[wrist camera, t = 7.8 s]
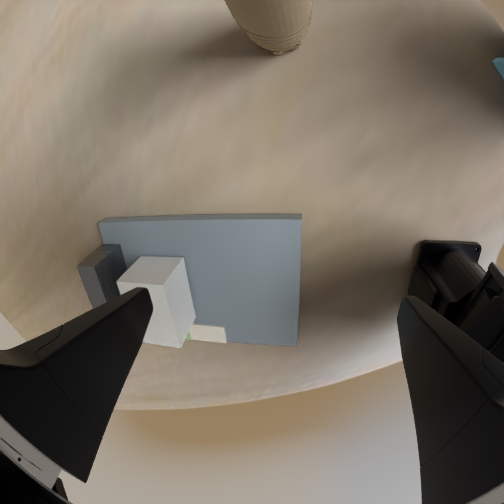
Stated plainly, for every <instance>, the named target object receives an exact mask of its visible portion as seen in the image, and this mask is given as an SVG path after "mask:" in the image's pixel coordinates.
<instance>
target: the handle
mask: <svg viewBox="0 0 504 504" xmlns="http://www.w3.org/2000/svg"><path fill="white" fill-rule="evenodd" d="M225 2H226V4H227V6H228V8H229V10H230V12H231V14H232V16H233V18H234V19H235V21H236V22H237V23H238V25H239V26H240V27H241V29H242V30H243V31H244V32H245V33H246V34H247V36H248V37H249V38H250V39H251V40H252V41H254V42H255V43H256V44H257V45H259V46H261V47H263V48H265V49H268V50H270V51H271V52H272V53H273V54H275V55H282V53H284V52H285V51H288V50H296V49H297V48H298V47H299V46H300V45H301V40H302V39H303V38H304V36H305V34H306V33H307V30H308V27H309V24H310V20H311V12H312V0H225Z"/></svg>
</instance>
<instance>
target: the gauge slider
mask: <svg viewBox="0 0 504 504" xmlns="http://www.w3.org/2000/svg"><path fill="white" fill-rule="evenodd" d="M116 282H117V285H118V288H119V291H120V294H121V295H122V294H124V293H126V292H128V291H130V290H132V289H134V288H136V287H145V288H147V289H148V290H149V293H150V297H151V300H152V303H153V313H152V316H151V319H150V322H149V325H148V327H147V330H146V333H145V336H144V339H143V342H145V343H151V344H157V345H163V346H169V347H175V348H181V347H182V345H183V343H184V341H185V339H186V337H187V335H188V332H189V330H190V328H191V326H192V324H193V322H194V320H195V318H196V315H195V310H194V306H193V301H192V297H191V292H190V287H189V282H188V277H187V272H186V267H185V262H184V257H154V256H141V257H140V258H139V259H138V260H137V261H136V262H135V263H134V264H133V265H132V266H131V267H130V268H129V269H128V270H127V271H126V272H125V273H124V274H123V275H122V276H121V277H120V278H119V279H118V280H117V281H116Z"/></svg>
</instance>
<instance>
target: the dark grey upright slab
mask: <svg viewBox="0 0 504 504" xmlns="http://www.w3.org/2000/svg"><path fill="white" fill-rule="evenodd" d="M77 267H78V270H79V273H80V276H81V279H82V281H83V284H84V287H85V289H86V292H87V294H88V297H89V299H90V302H91V304H92V307H93V309H94V308H96V307H98V306H100V305H102V304H104V303H106V302H108V301H110V300H112V299H114V298H116V297H118V296H120V295H121V294H120V291H119V288H118V285H117V282H116V281H117V280H118V279H119V278H120V277H121V276H122V275H123V274H124V273H125V272H126V271H127V267H126V263H125V260H124V256H123V252H122V249H121V245H120V244H103V245H102V246H100V247H99V248H98V249H97V250H95V251H94V252H93V253H92V254H91V255H89V256H88V257H87V258H86V259H84V260H83V261H82V262H81V263H80V264H79V265H77Z"/></svg>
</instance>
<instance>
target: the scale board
mask: <svg viewBox="0 0 504 504" xmlns="http://www.w3.org/2000/svg"><path fill="white" fill-rule="evenodd" d="M98 225H99V229H100V233H101V237H102V240H103V244H120V245H121V249H122V252H123V256H124V260H125V263H126V267H127V270H128V269H129V268H130V267H131V266H132V265H133V264H134V263H135V262H136V261H137V260H138V259H139V258H140V257H141V256H154V257H184V262H185V267H186V272H187V277H188V282H189V287H190V292H191V297H192V301H193V306H194V310H195V315H196V318H195V320H194V322H193V324H192V326H191V328H190V330H189V332H188V335H187V337H186V339H185V340H190V341H191V340H200V341H209V342H218V343H227V342H235V343H248V344H263V345H283V346H297V337H298V320H299V299H300V272H301V214H198V215H165V216H141V217H121V218H105V219H104V220H102V221H101V222H99V223H98Z"/></svg>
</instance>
